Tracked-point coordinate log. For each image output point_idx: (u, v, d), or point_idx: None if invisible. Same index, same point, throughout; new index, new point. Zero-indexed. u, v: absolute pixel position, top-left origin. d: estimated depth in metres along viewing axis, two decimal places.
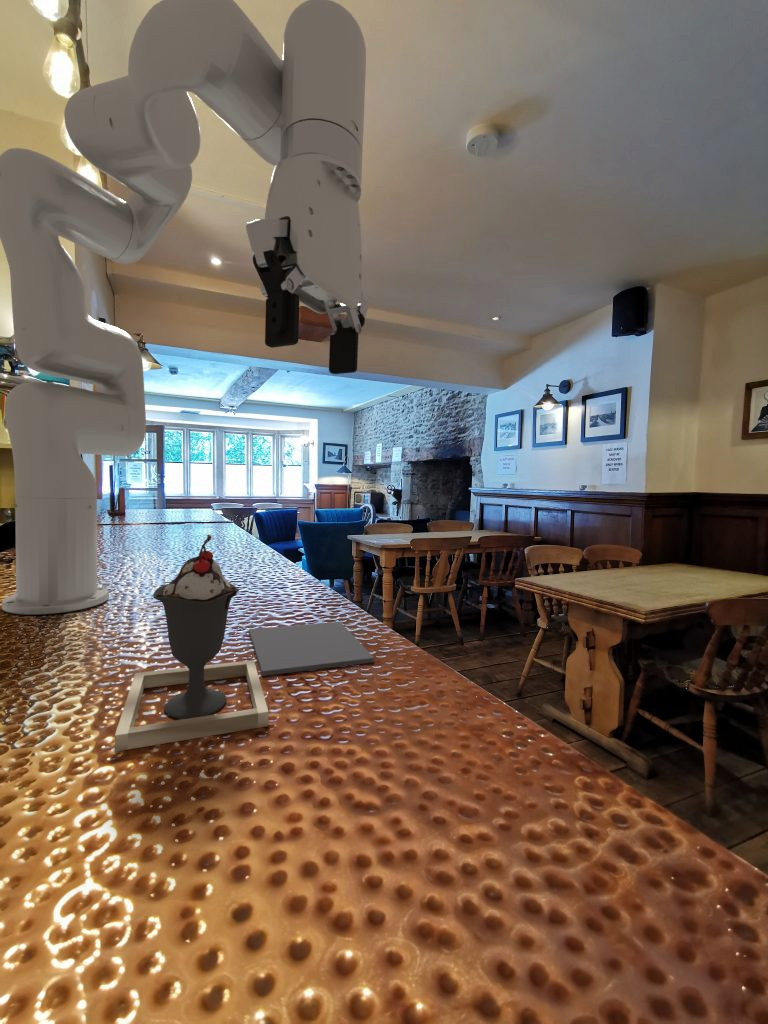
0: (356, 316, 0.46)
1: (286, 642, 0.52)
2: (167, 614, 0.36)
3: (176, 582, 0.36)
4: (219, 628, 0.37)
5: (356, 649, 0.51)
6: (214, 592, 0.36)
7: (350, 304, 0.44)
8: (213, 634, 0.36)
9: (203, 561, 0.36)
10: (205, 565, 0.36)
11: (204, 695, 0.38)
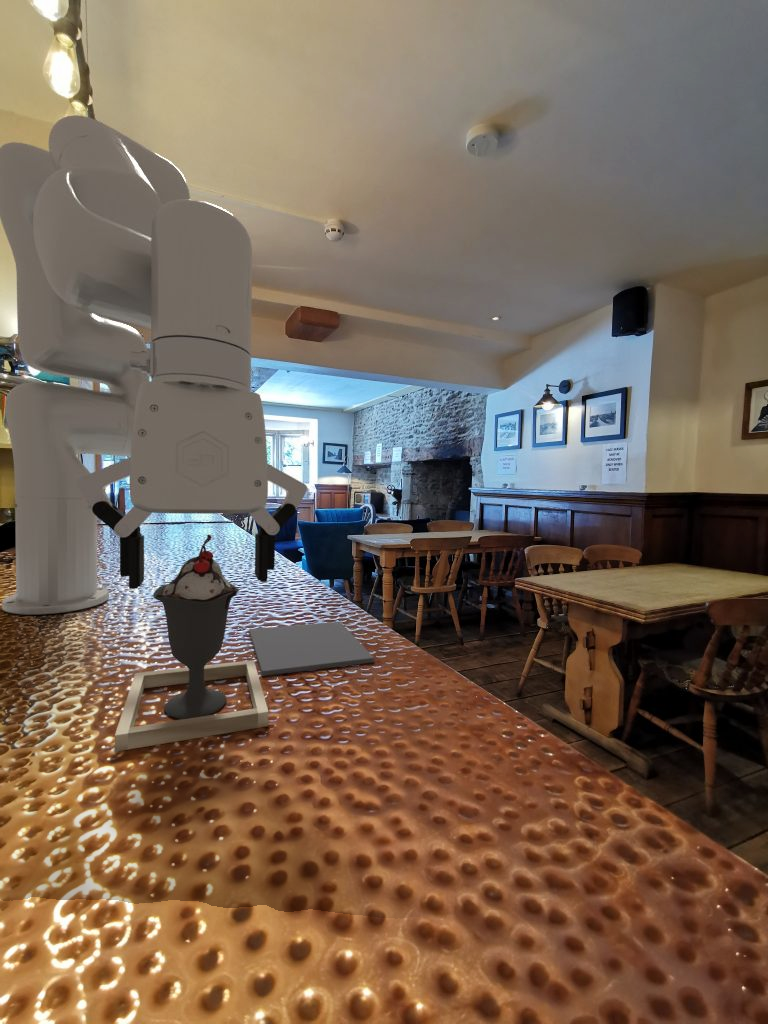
0: None
1: (286, 642, 0.52)
2: (167, 614, 0.36)
3: (176, 582, 0.36)
4: (219, 628, 0.37)
5: (356, 649, 0.51)
6: (214, 592, 0.36)
7: None
8: (213, 634, 0.36)
9: (203, 561, 0.36)
10: (205, 565, 0.36)
11: (204, 695, 0.38)
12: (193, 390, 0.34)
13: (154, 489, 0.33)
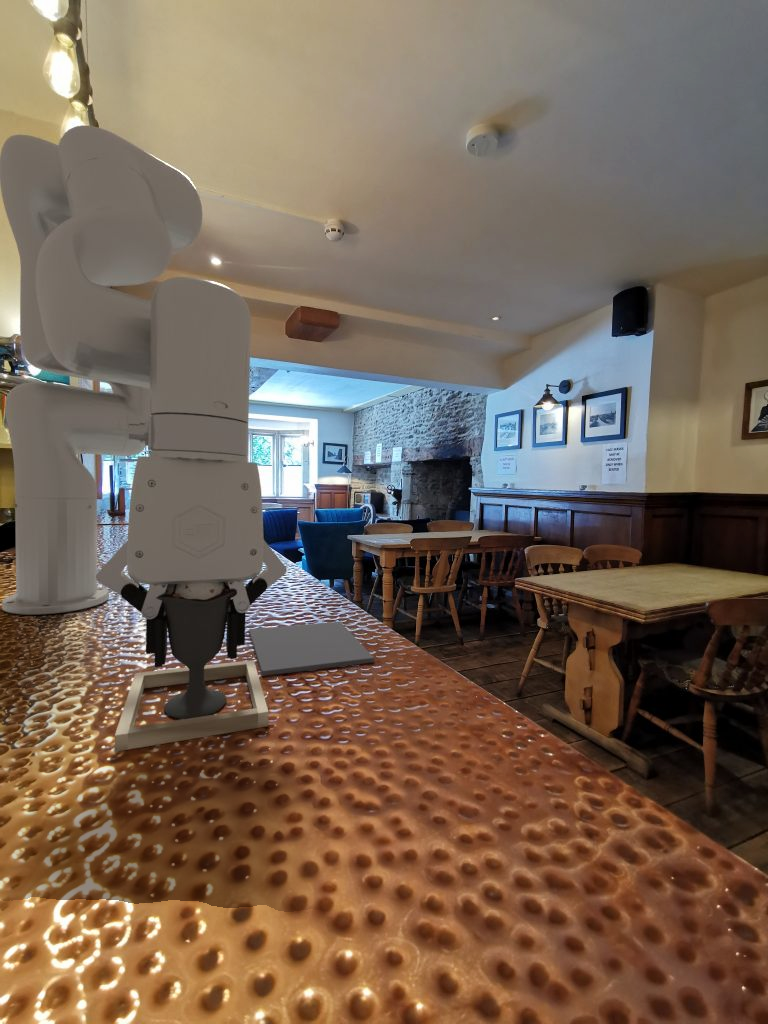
0: None
1: (286, 642, 0.52)
2: (167, 614, 0.36)
3: None
4: (219, 628, 0.37)
5: (356, 649, 0.51)
6: (214, 592, 0.36)
7: None
8: (213, 634, 0.36)
9: None
10: None
11: (204, 695, 0.38)
12: (190, 464, 0.34)
13: (151, 562, 0.33)
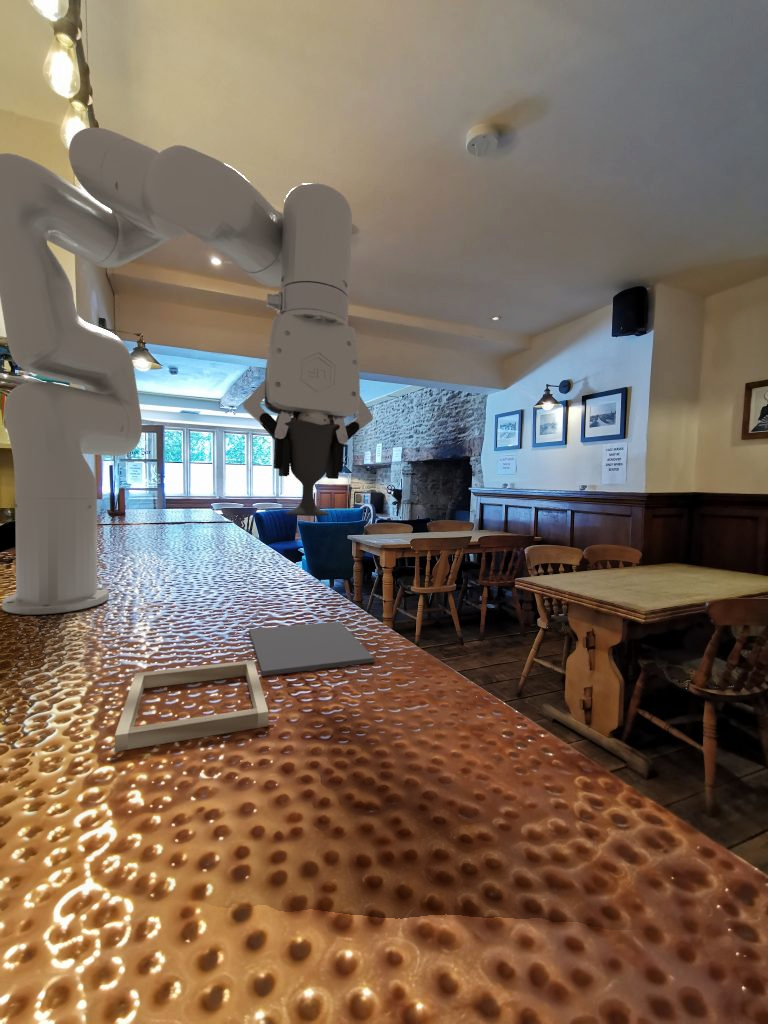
0: None
1: (286, 642, 0.52)
2: (291, 437, 0.48)
3: (297, 415, 0.49)
4: (327, 452, 0.49)
5: (356, 649, 0.51)
6: (326, 421, 0.48)
7: None
8: (323, 455, 0.49)
9: None
10: None
11: (314, 505, 0.50)
12: (313, 322, 0.47)
13: (285, 392, 0.46)
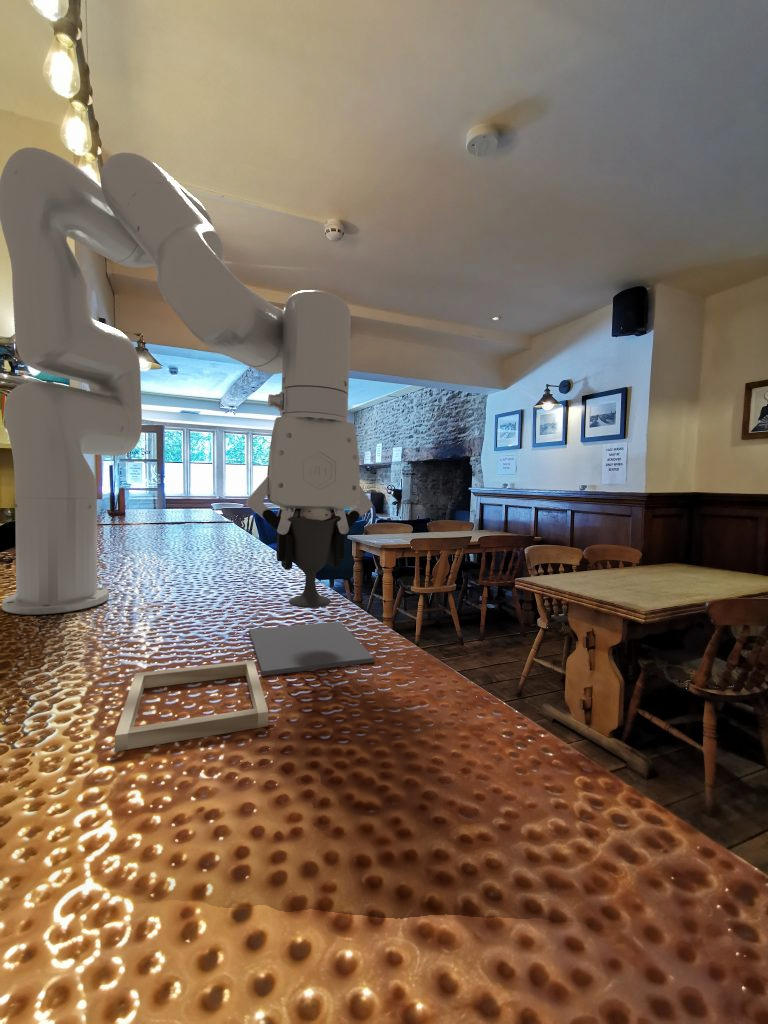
0: None
1: (286, 642, 0.52)
2: (294, 532, 0.50)
3: (299, 509, 0.50)
4: (328, 543, 0.51)
5: (356, 649, 0.51)
6: (328, 516, 0.50)
7: None
8: (325, 547, 0.50)
9: None
10: None
11: (316, 594, 0.52)
12: (314, 423, 0.48)
13: (288, 491, 0.47)
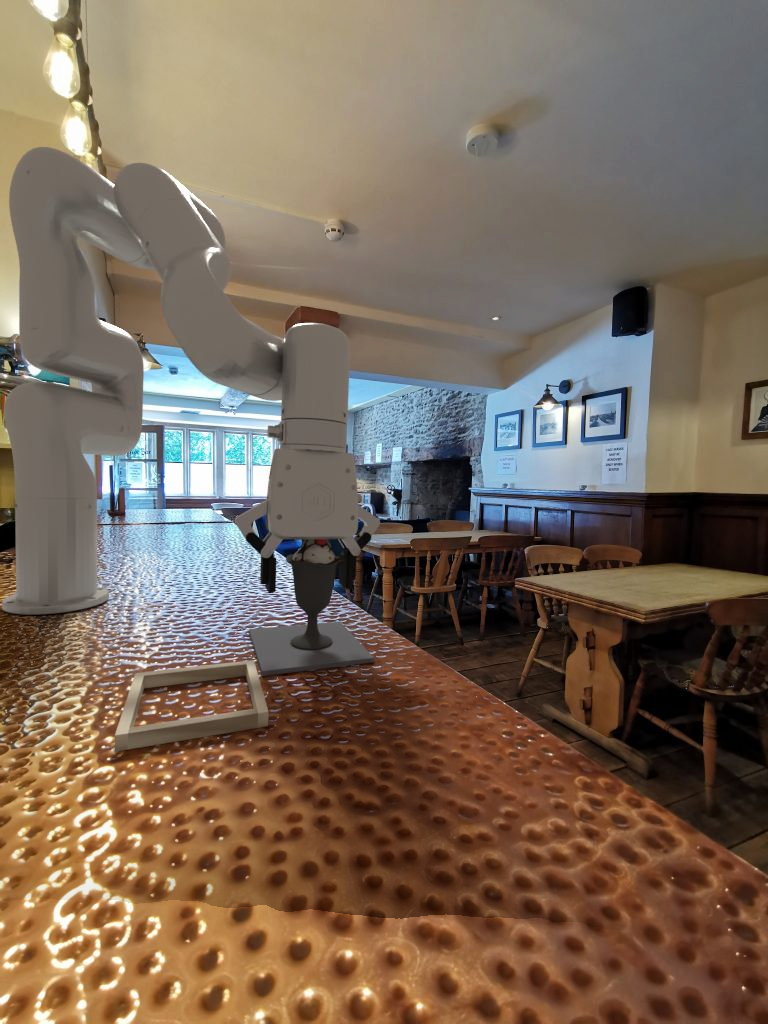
0: (267, 539, 0.51)
1: (286, 642, 0.52)
2: (297, 574, 0.50)
3: (303, 552, 0.50)
4: (331, 585, 0.51)
5: (356, 649, 0.51)
6: (331, 559, 0.50)
7: None
8: (328, 589, 0.51)
9: None
10: (324, 539, 0.50)
11: (318, 635, 0.52)
12: (313, 454, 0.48)
13: (286, 523, 0.48)
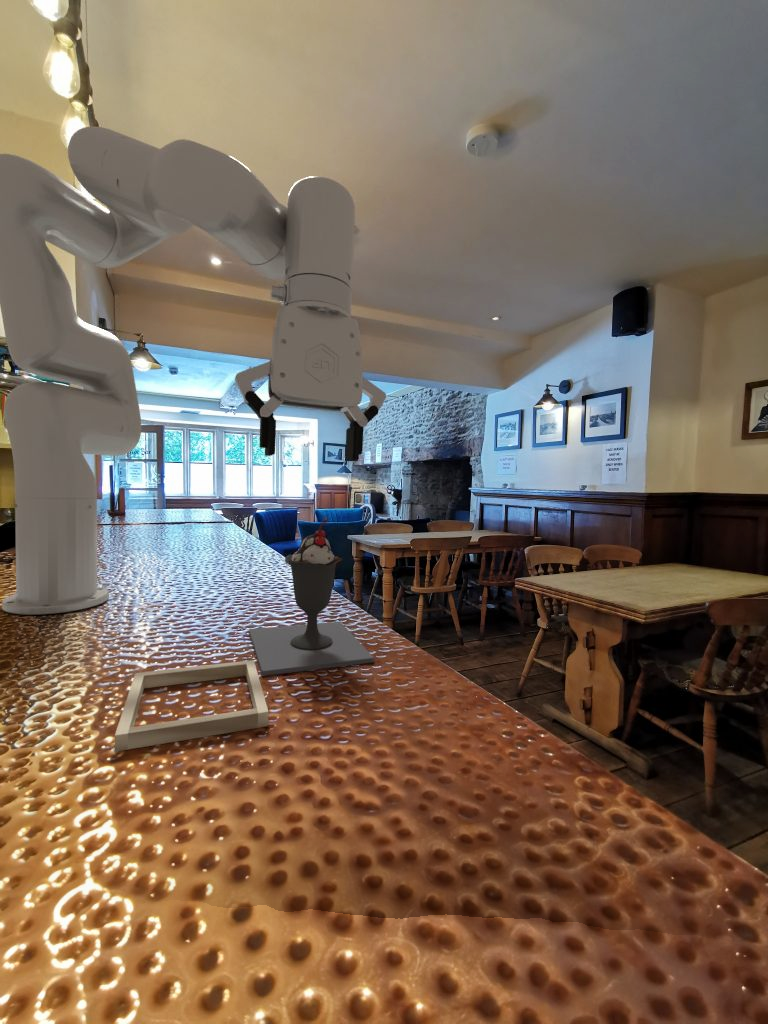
0: None
1: (286, 642, 0.52)
2: (296, 575, 0.50)
3: (302, 552, 0.50)
4: (331, 585, 0.51)
5: (356, 649, 0.51)
6: (330, 559, 0.50)
7: None
8: (327, 589, 0.51)
9: (321, 537, 0.50)
10: (323, 540, 0.50)
11: (318, 635, 0.52)
12: (316, 314, 0.47)
13: (290, 382, 0.47)
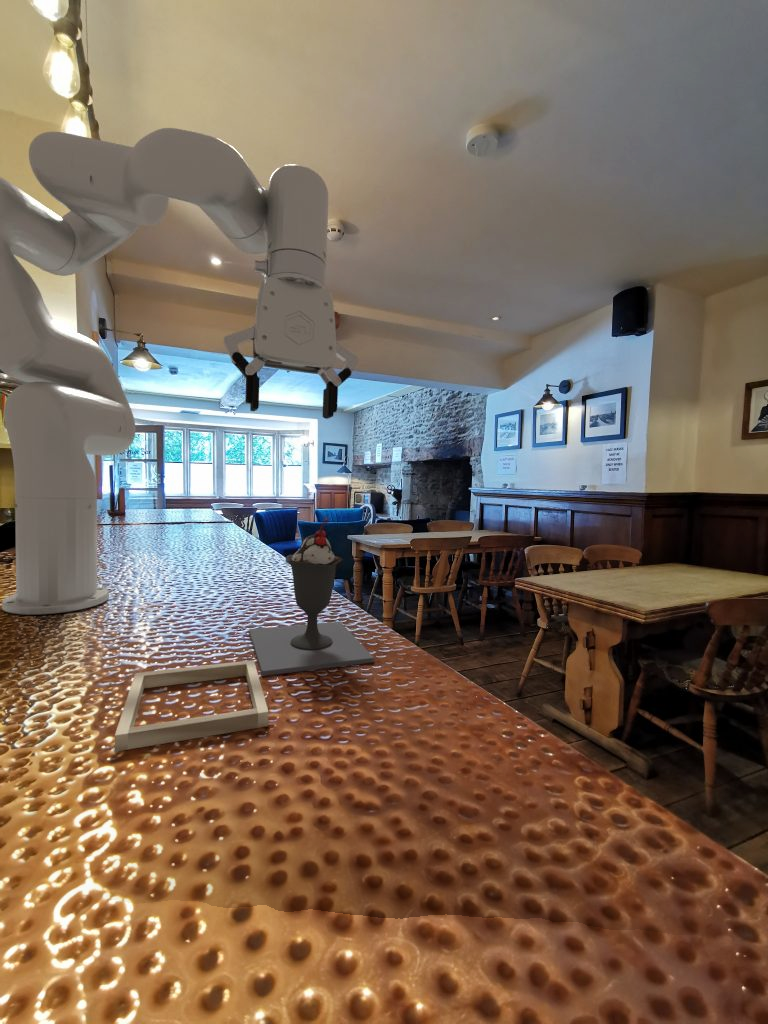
0: None
1: (286, 642, 0.52)
2: (297, 575, 0.50)
3: (302, 552, 0.50)
4: (331, 585, 0.51)
5: (356, 649, 0.51)
6: (331, 559, 0.50)
7: None
8: (328, 590, 0.51)
9: (322, 537, 0.50)
10: (324, 540, 0.50)
11: (318, 635, 0.52)
12: (294, 284, 0.54)
13: (271, 344, 0.54)
